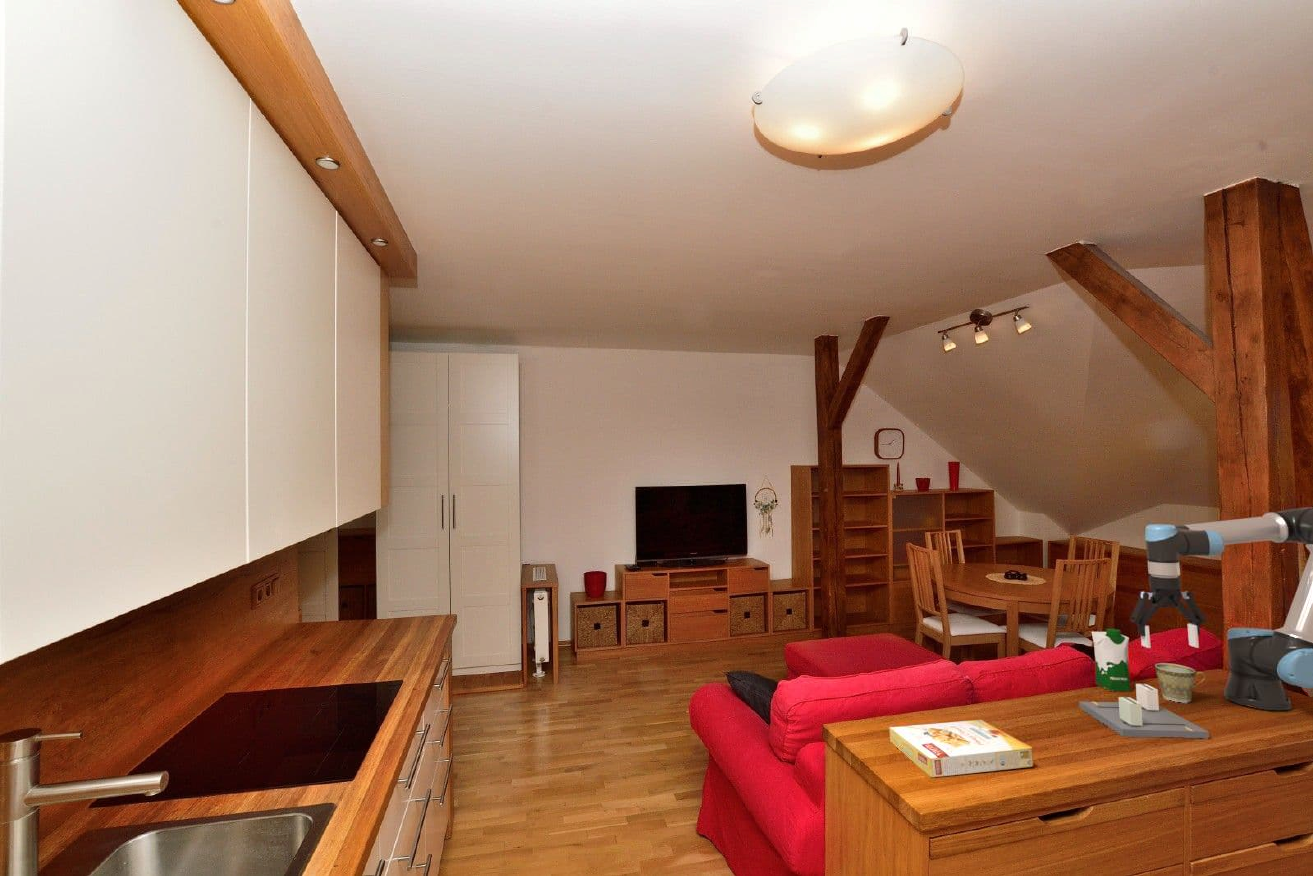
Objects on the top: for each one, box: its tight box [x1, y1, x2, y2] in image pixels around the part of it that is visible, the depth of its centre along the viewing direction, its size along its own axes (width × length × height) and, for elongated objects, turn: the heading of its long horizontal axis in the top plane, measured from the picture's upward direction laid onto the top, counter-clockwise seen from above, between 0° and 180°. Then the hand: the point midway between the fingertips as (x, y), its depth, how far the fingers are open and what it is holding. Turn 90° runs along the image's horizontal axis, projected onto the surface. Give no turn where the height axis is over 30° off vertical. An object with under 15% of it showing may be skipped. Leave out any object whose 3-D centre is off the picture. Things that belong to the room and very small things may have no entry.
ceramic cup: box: [1154, 662, 1206, 704], centre depth 198 cm, size 13×10×10 cm
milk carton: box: [1091, 628, 1131, 692], centre depth 210 cm, size 9×9×20 cm
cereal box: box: [888, 719, 1034, 778], centre depth 162 cm, size 20×6×28 cm
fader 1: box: [1118, 696, 1143, 726], centre depth 175 cm, size 3×5×6 cm, turn 174°
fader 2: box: [1135, 683, 1160, 710], centre depth 186 cm, size 3×5×6 cm, turn 174°
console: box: [1078, 700, 1210, 739], centre depth 180 cm, size 22×21×2 cm
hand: (1169, 646), depth 186 cm, fingers open, 13 cm apart
